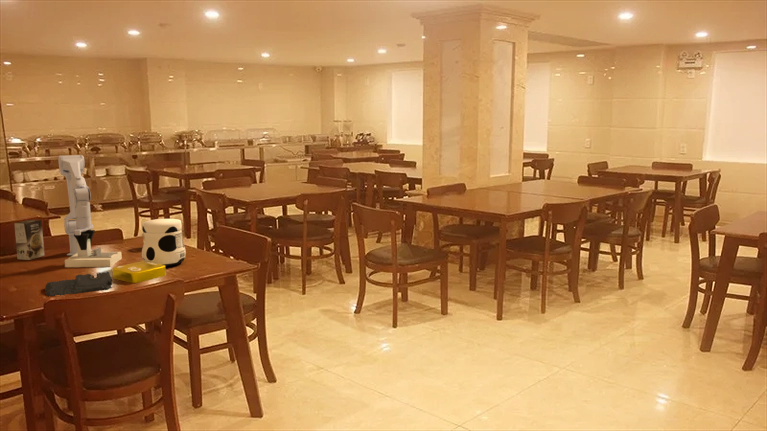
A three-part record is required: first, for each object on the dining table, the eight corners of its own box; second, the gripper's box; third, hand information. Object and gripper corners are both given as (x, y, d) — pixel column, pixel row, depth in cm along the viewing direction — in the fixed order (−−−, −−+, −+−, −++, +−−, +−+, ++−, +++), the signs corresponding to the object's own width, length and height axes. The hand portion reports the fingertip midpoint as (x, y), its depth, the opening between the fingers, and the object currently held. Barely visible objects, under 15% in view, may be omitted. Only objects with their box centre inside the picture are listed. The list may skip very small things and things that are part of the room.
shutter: (98, 253, 265) (98, 247, 264) (114, 253, 266) (113, 246, 265) (92, 257, 259) (92, 250, 258) (109, 257, 259) (108, 250, 259)
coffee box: (29, 260, 266) (26, 223, 264) (17, 259, 268) (13, 222, 265) (45, 255, 275) (42, 219, 273) (32, 254, 277) (29, 219, 274)
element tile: (168, 276, 243) (167, 264, 242) (134, 284, 231) (133, 272, 230) (144, 270, 252) (143, 259, 251) (110, 278, 239) (109, 266, 238)
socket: (78, 259, 268) (78, 251, 268) (121, 258, 270) (121, 250, 269) (65, 267, 255) (64, 259, 254) (110, 266, 256) (109, 258, 255)
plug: (81, 254, 263) (80, 238, 262) (91, 254, 264) (90, 238, 262) (77, 257, 259) (76, 240, 258) (87, 256, 260) (86, 240, 258)
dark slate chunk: (45, 287, 227) (43, 275, 226) (110, 280, 237) (109, 268, 237) (45, 299, 214) (44, 285, 213) (114, 290, 224) (113, 277, 223)
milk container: (140, 261, 264) (137, 220, 261) (182, 257, 272) (180, 217, 269) (145, 271, 249) (142, 227, 246) (189, 266, 257) (187, 223, 254)
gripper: (80, 214, 265) (82, 245, 268) (65, 220, 251) (68, 252, 253) (97, 213, 266) (99, 244, 268) (84, 219, 252) (86, 252, 254)
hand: (85, 248), depth 261 cm, fingers closed on plug, 4 cm apart
